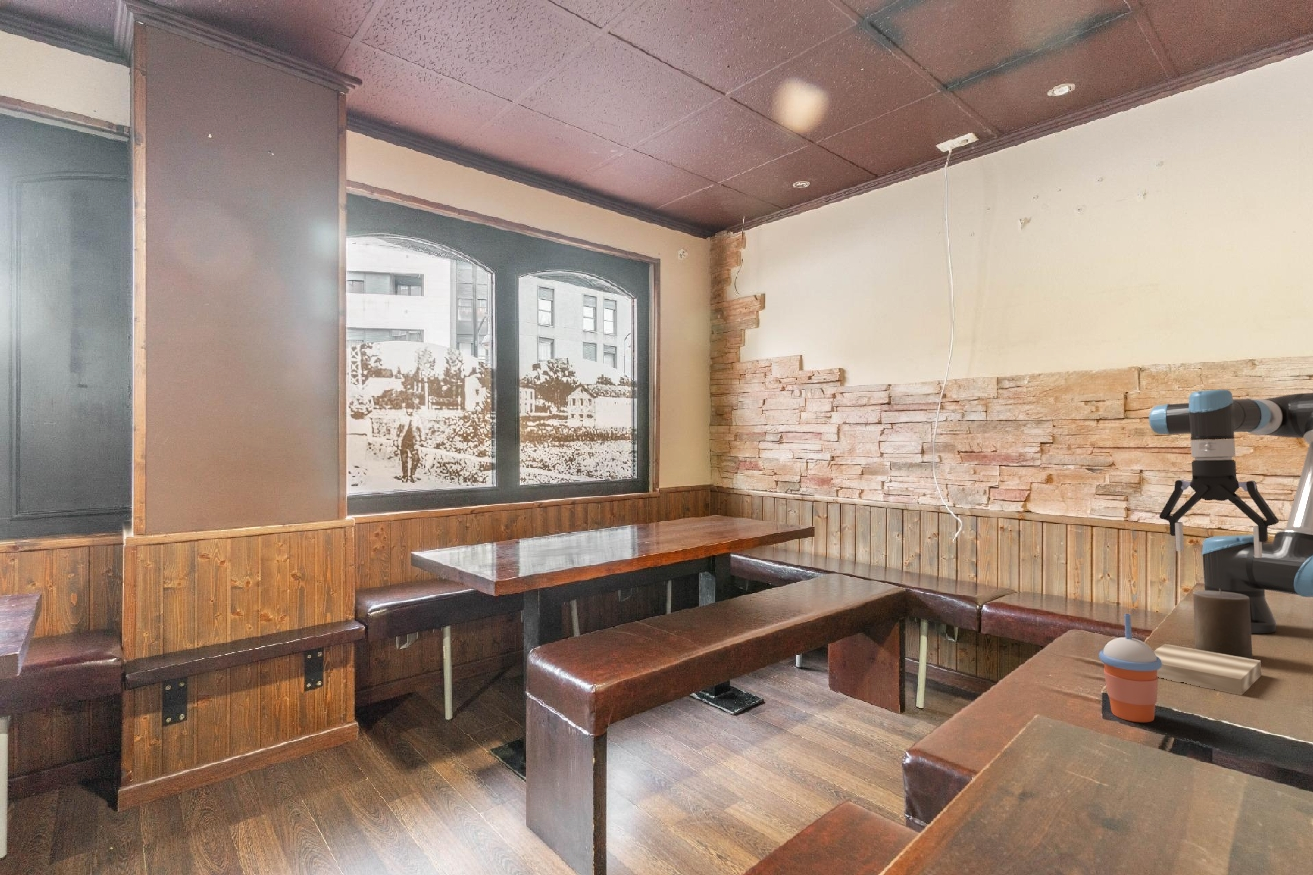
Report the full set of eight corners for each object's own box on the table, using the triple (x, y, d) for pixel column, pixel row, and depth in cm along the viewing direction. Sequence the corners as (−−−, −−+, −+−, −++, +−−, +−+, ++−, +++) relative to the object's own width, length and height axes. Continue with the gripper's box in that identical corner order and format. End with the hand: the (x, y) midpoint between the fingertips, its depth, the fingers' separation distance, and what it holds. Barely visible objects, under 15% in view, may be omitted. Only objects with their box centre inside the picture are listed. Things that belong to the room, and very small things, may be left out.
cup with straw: (1167, 713, 116) (1162, 612, 117) (1161, 731, 110) (1156, 623, 110) (1106, 701, 123) (1101, 605, 123) (1097, 717, 116) (1092, 615, 116)
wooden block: (1165, 657, 146) (1164, 643, 146) (1261, 675, 133) (1260, 660, 133) (1140, 674, 136) (1140, 659, 136) (1241, 695, 123) (1240, 679, 123)
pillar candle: (1237, 665, 139) (1234, 595, 139) (1185, 653, 148) (1182, 586, 148) (1262, 658, 143) (1259, 590, 143) (1210, 647, 152) (1207, 582, 152)
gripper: (1140, 459, 154) (1145, 549, 153) (1285, 458, 134) (1291, 562, 134) (1151, 458, 158) (1155, 546, 158) (1293, 457, 139) (1298, 557, 138)
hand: (1217, 553), depth 146 cm, fingers open, 13 cm apart
